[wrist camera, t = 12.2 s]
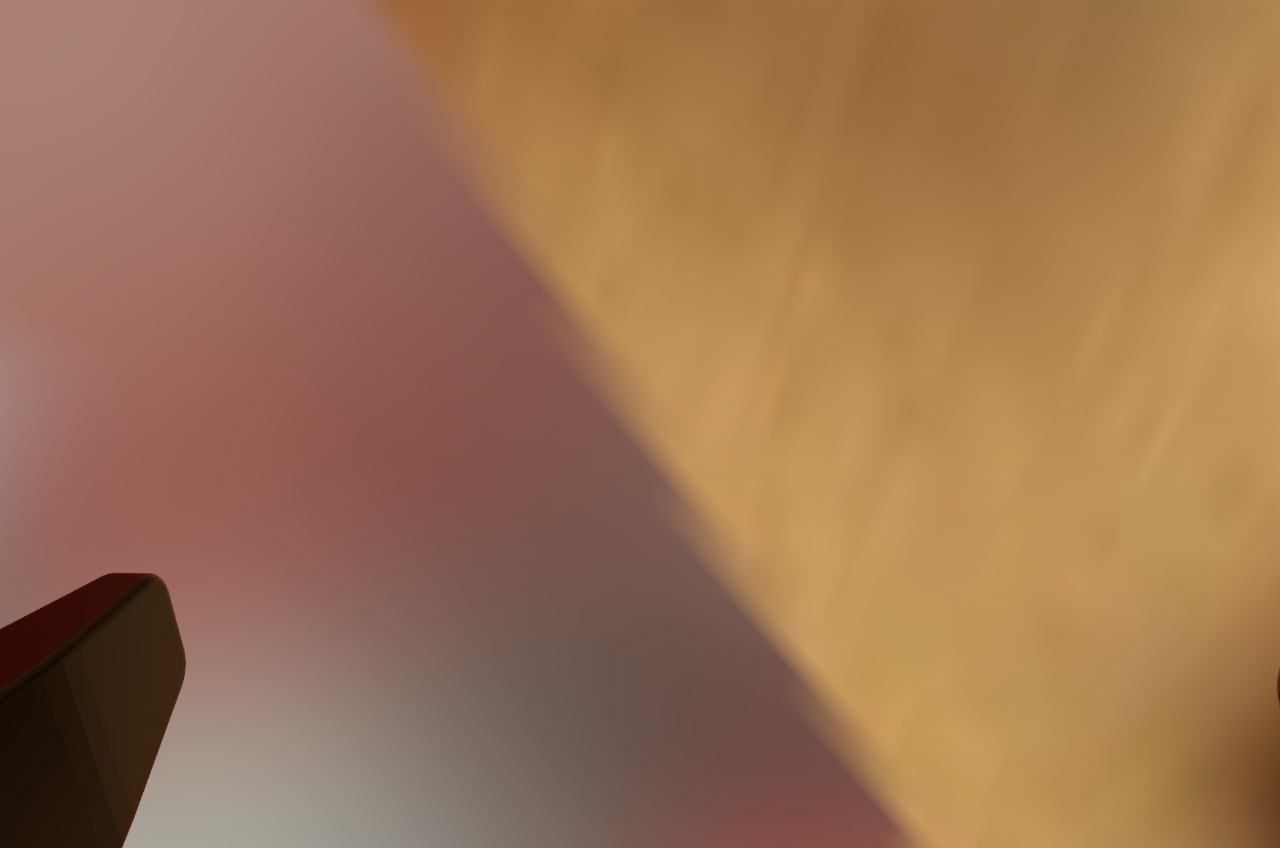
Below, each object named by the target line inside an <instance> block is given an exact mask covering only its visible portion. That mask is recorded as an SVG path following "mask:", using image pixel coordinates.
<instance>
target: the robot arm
mask: <svg viewBox="0 0 1280 848" xmlns="http://www.w3.org/2000/svg"><path fill="white" fill-rule="evenodd" d="M185 667H186V660H185V651H184V647H183V643H182V640H181V637H180V632H179V628H178V625H177V621H176V618H175V614H174V610H173V606H172V603H171V599H170V595H169V591H168V589H167V586H166V584H165V583H164V581H163V580H162V579H161V578H160V577H158V576H157V575H155V574H151V573H111V574H106V575H104V576H102V577H100V578H98V579H96V580H94V581H92V582H90V583H88V584H86V585H84V586H82V587H80V588H78V589H77V590H75V591H73V592H71V593H69V594H67V595H65V596H63V597H61V598H59V599H57V600H55V601H53V602H52V603H50V604H48V605H46V606H44V607H42V608H40V609H38V610H36V611H34V612H32V613H30V614H28V615H26V616H24V617H23V618H21V619H19V620H17V621H15V622H13V623H11V624H9V625H7V626H5V627H3V628H1V629H0V848H122V847H123V844H124V842H125V839H126V837H127V834H128V832H129V829H130V827H131V824H132V822H133V819H134V817H135V814H136V811H137V808H138V806H139V803H140V800H141V797H142V795H143V792H144V789H145V786H146V784H147V780H148V778H149V775H150V773H151V770H152V767H153V764H154V762H155V759H156V756H157V753H158V750H159V748H160V745H161V742H162V739H163V736H164V734H165V731H166V728H167V726H168V723H169V720H170V717H171V714H172V712H173V709H174V706H175V704H176V701H177V698H178V695H179V693H180V690H181V686H182V684H183V680H184V676H185ZM1277 695H1278V701H1279V705H1280V669H1279V673H1278V679H1277Z"/></svg>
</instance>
